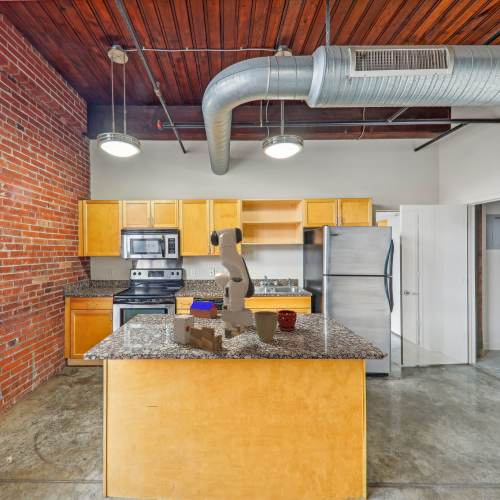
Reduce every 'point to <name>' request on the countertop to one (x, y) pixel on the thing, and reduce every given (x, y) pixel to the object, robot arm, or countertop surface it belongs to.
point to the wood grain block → (205, 338)
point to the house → (203, 309)
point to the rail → (234, 331)
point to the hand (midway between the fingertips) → (237, 331)
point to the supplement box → (182, 328)
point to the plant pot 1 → (266, 324)
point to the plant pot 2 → (287, 320)
